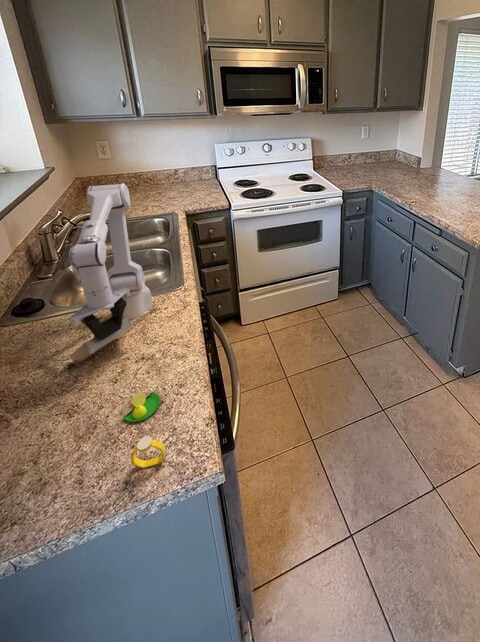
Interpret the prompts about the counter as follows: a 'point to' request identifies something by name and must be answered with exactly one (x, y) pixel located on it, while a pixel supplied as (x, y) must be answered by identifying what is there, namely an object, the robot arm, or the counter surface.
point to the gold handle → (71, 365)
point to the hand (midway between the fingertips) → (108, 331)
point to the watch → (144, 446)
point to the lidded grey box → (109, 334)
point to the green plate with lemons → (143, 406)
